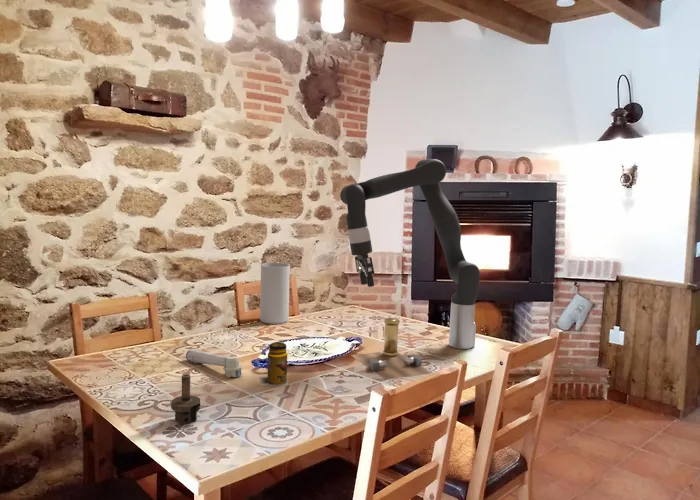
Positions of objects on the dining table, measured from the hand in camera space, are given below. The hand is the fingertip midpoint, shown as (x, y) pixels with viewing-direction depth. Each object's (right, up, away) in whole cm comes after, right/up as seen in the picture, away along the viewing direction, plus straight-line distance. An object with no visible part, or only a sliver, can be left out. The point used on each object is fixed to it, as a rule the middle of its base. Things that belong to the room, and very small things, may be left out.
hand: (367, 285), depth 200 cm
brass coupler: (+8, -25, +3) cm, 27 cm away
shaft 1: (+3, -27, -13) cm, 30 cm away
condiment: (-30, -29, -26) cm, 49 cm away
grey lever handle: (-51, -27, -16) cm, 60 cm away
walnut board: (+7, -27, -7) cm, 29 cm away
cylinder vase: (-40, -19, +48) cm, 65 cm away
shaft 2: (+15, -27, -7) cm, 32 cm away
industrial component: (-48, -32, -56) cm, 80 cm away
